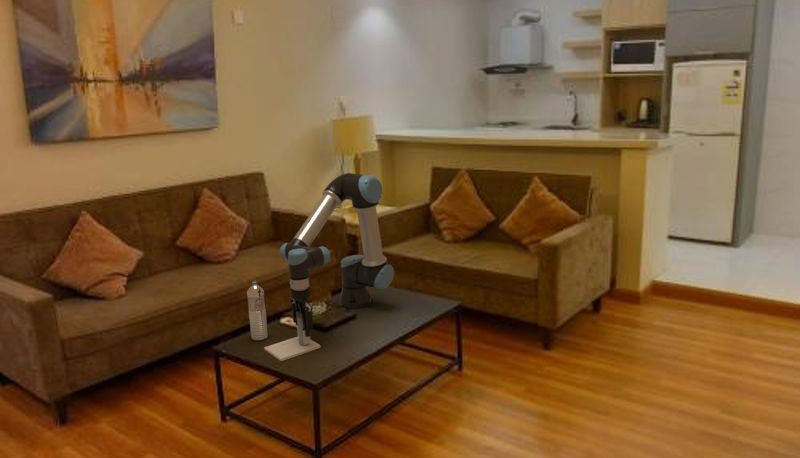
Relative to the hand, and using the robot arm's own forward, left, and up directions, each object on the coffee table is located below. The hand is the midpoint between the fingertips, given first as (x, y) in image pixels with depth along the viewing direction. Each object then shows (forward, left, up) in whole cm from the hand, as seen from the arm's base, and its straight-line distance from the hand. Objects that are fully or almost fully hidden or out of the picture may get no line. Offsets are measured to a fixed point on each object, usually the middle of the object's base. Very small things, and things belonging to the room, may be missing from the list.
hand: (304, 341), depth 255 cm
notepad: (+5, -1, -2) cm, 5 cm away
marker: (0, 0, -1) cm, 1 cm away
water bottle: (+10, -20, -2) cm, 22 cm away
